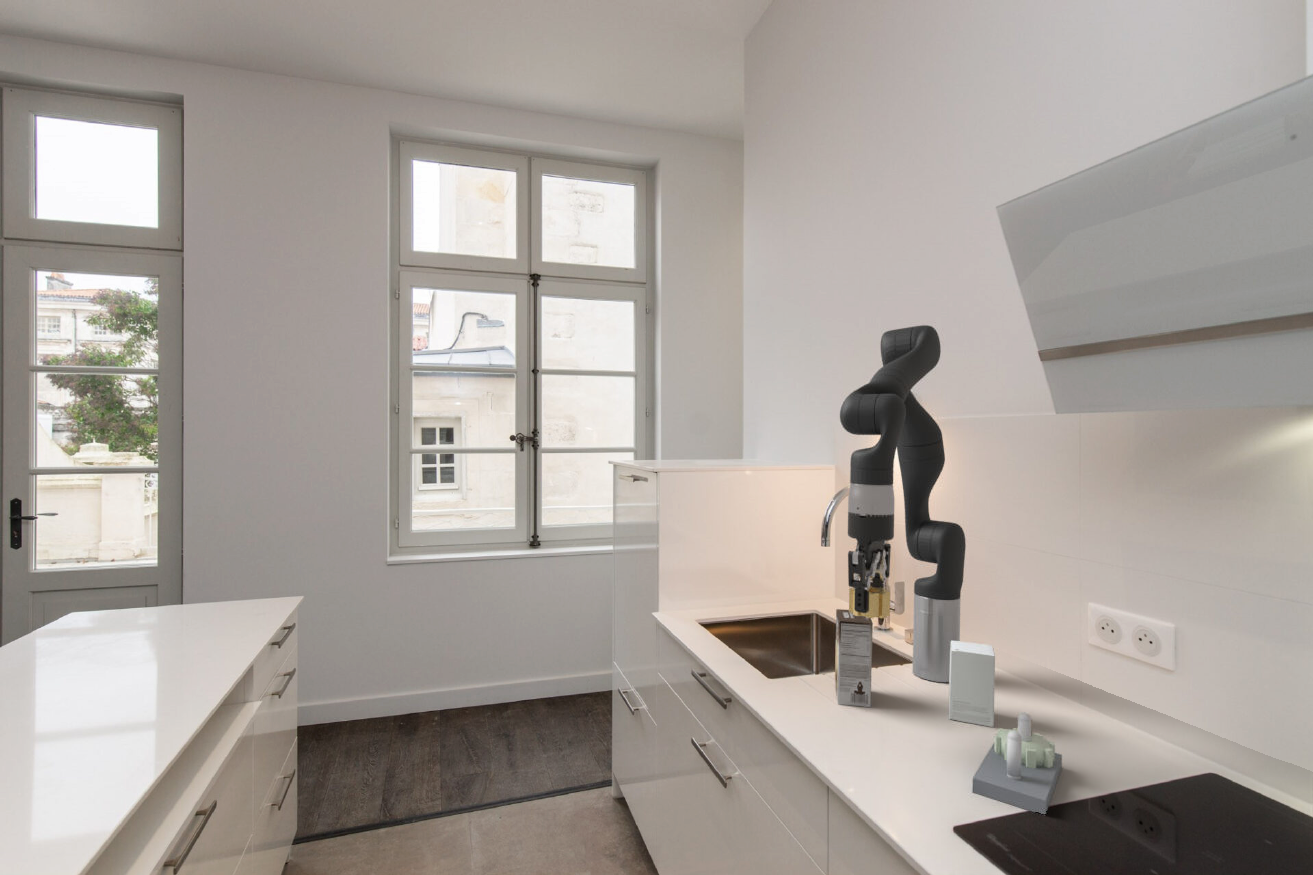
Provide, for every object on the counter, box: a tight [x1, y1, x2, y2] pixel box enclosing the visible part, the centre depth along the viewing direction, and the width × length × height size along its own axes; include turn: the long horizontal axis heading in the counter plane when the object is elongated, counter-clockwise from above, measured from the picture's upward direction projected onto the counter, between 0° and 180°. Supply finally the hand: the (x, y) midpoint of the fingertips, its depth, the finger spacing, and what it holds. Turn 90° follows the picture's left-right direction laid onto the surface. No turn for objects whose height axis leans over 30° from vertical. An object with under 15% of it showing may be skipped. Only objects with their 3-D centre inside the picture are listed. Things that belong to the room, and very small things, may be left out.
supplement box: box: [948, 640, 996, 728], centre depth 119 cm, size 7×7×13 cm
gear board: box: [971, 712, 1063, 815], centre depth 96 cm, size 17×9×8 cm, turn 142°
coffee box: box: [834, 608, 874, 708], centre depth 127 cm, size 9×6×16 cm
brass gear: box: [848, 586, 891, 619], centre depth 111 cm, size 6×6×4 cm
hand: (869, 607), depth 111 cm, fingers closed on brass gear, 6 cm apart
